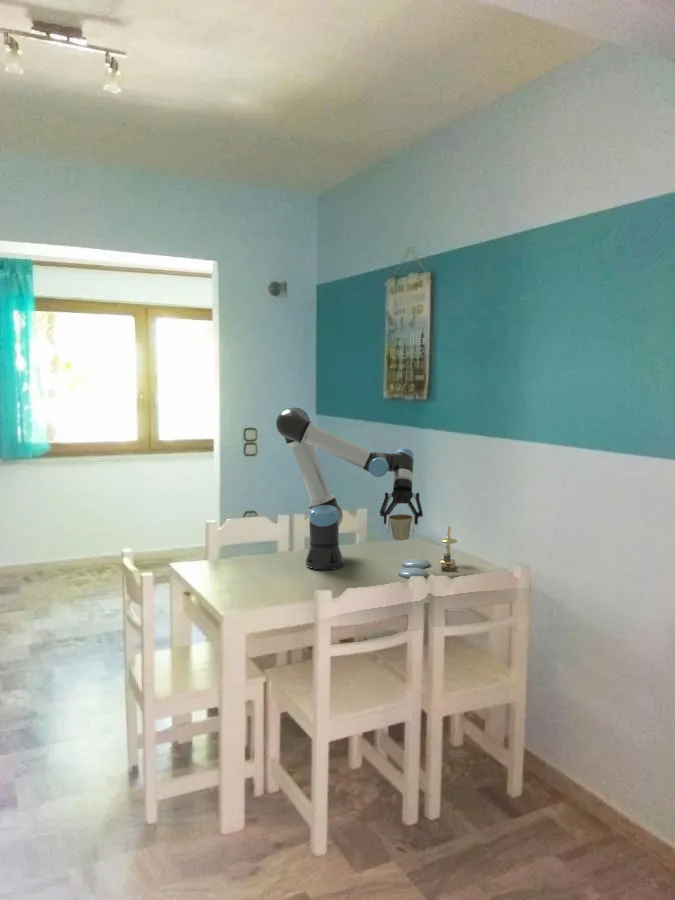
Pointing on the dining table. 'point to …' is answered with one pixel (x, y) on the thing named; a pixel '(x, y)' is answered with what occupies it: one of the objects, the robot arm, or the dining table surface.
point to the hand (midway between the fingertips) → (400, 531)
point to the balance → (448, 553)
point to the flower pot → (400, 526)
